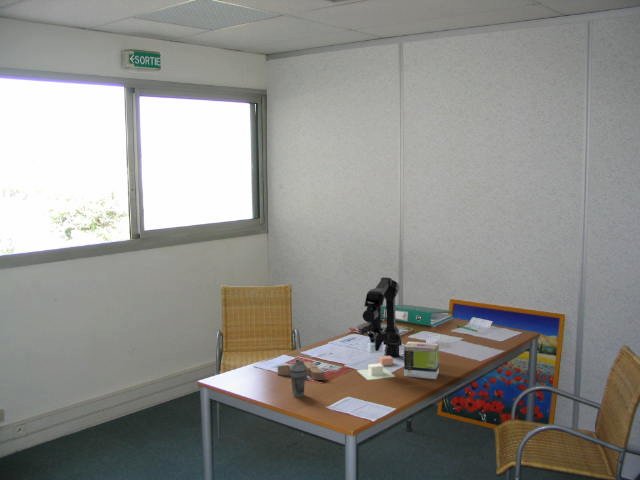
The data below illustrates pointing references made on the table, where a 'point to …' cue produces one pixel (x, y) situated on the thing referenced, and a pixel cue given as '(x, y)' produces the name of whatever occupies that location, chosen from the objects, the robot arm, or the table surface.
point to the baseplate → (370, 377)
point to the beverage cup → (298, 377)
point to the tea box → (421, 360)
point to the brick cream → (375, 369)
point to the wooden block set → (310, 371)
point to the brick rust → (386, 360)
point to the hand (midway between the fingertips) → (375, 349)
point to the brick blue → (372, 348)
